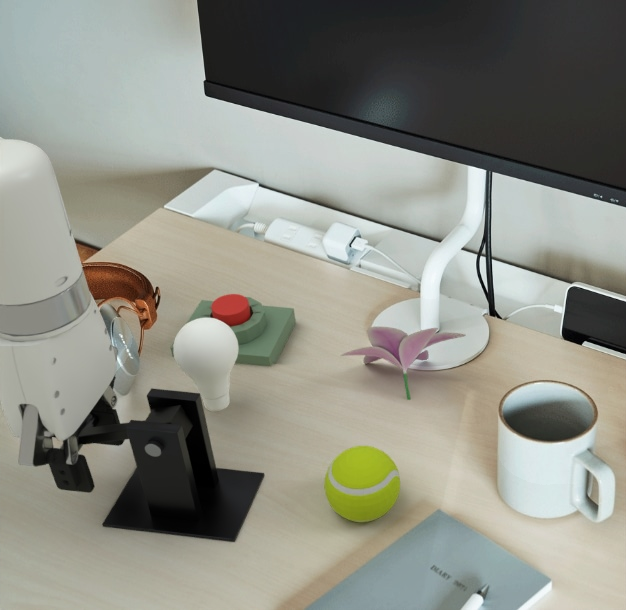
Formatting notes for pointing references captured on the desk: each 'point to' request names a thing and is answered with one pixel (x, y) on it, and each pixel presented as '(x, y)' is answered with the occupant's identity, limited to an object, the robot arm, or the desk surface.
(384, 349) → the lily
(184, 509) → the switch bracket
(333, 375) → the desk surface
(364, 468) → the tennis ball
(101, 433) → the switch lever
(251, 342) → the button box
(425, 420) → the desk surface
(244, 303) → the button
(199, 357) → the lightbulb
